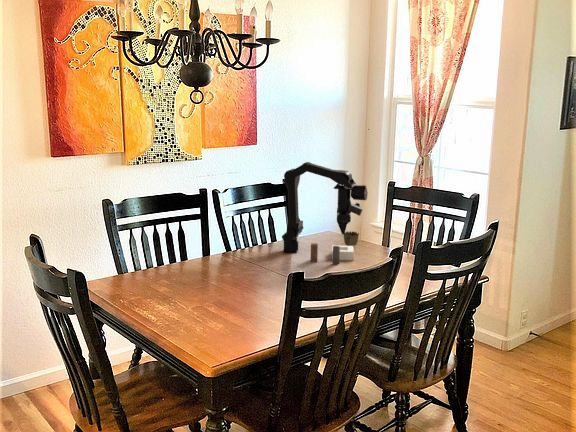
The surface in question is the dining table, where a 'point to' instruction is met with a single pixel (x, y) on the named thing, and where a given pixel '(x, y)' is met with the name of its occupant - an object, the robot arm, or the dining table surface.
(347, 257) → the socket block
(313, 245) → the square peg
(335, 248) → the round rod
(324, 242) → the dining table surface
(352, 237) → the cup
